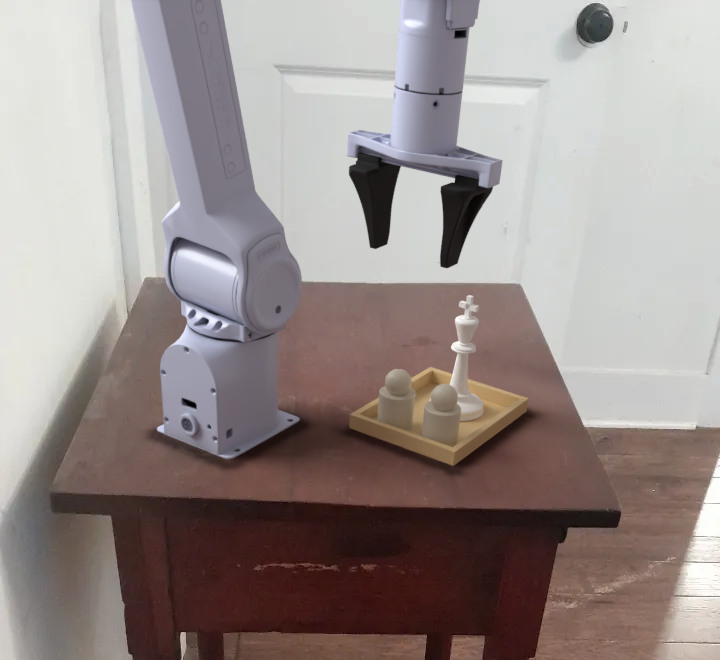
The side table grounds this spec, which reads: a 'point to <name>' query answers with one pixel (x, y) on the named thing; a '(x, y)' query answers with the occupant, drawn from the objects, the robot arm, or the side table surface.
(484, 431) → the chess tray
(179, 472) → the side table surface
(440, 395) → the pawn
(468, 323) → the chess piece
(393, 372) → the pawn
